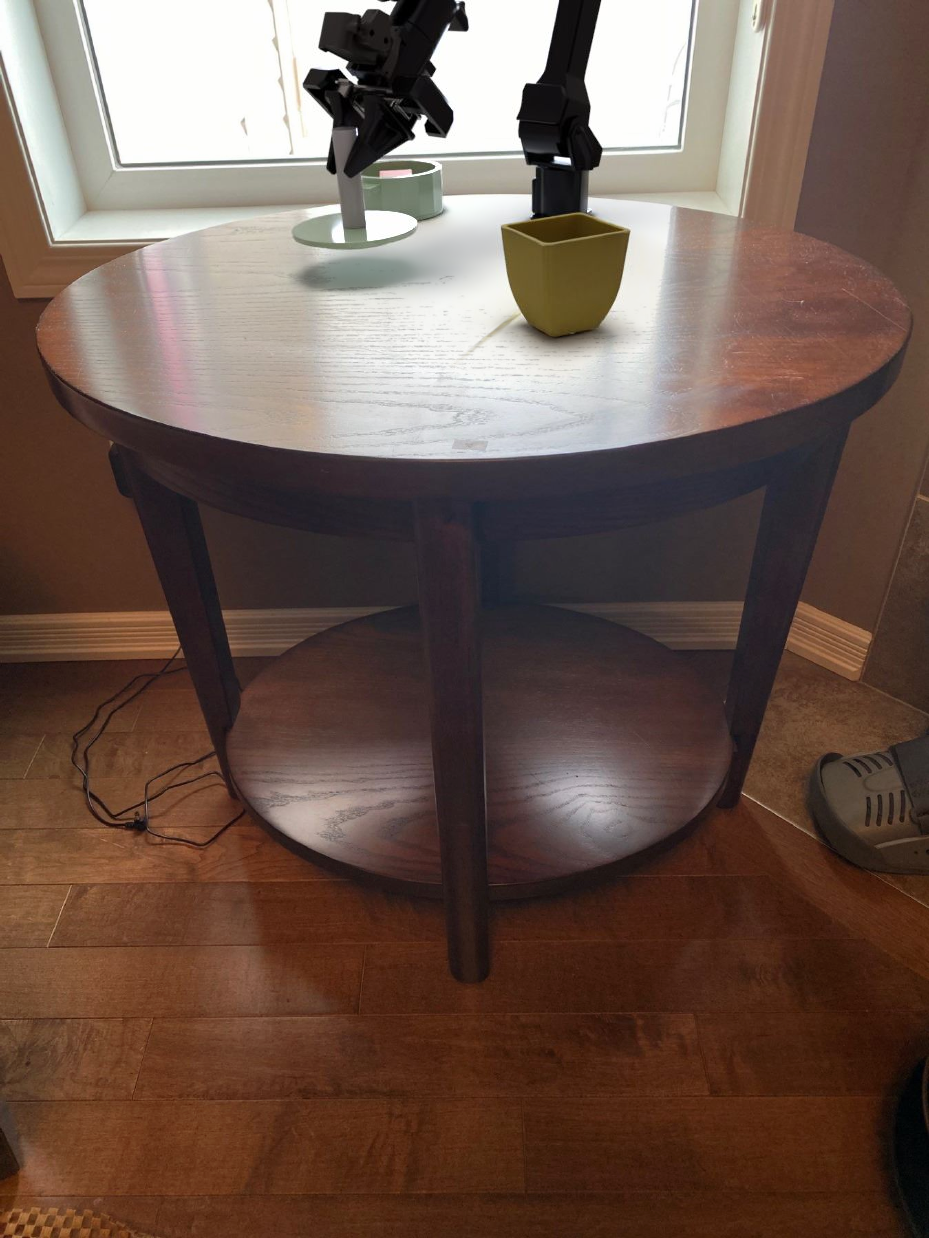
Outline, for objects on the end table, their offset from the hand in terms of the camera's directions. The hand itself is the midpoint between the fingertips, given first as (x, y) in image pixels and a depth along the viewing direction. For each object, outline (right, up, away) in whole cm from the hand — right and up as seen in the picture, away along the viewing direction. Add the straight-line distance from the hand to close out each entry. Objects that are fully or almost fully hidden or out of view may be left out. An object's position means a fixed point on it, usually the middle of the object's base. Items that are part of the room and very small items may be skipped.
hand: (338, 174), depth 95 cm
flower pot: (+22, -19, -8) cm, 30 cm away
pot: (+4, +10, +32) cm, 34 cm away
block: (+4, +11, +32) cm, 34 cm away
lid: (+1, -4, +4) cm, 6 cm away
